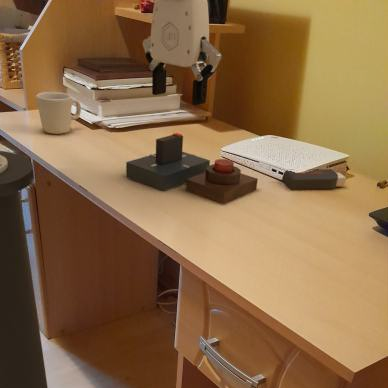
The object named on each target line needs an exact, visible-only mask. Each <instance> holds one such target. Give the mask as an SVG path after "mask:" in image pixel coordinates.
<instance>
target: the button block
mask: <svg viewBox="0 0 388 388" xmlns="http://www.w3.org/2000/svg"><path fill="white" fill-rule="evenodd" d="M214 164H215V163H214ZM214 164H213V163H212V164H210V166H207V168H206V172H205V173H202V174H200V175H197V176H194V177H191V178H188V179H186V183H185V191H186V192H189V193H191V194H194V195H197V196H199V197H203V198H205V199H208V200H211V201H214V202H216V203H219V204H222V205H224V204H227V203H229V202H231V201H234V200H236V199H238V198H241V197H243V196H245V195H247V194H249V193H252V192H254V191H257V188H258V181H259V179H258V178H257V177H255V176H250V175H248V174H245V173H242V170H241V169H240V168H239V167H238V166H235V165H233V172H232V173H218V172H215V171H214Z"/></svg>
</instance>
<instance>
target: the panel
mask: <svg viewBox="0 0 388 388" xmlns="http://www.w3.org/2000/svg"><path fill="white" fill-rule="evenodd" d="M210 165H211V160H210V159H207V158H204V157H201V156H198V155H194V154H191V153H188V152H185V151H182V159H180V160H176V161H173V162H170V163H167V164H164V165H161V164H158V163H156V153H149V155H146V156H143V157H139V158H135V159H131V160H129V161H126V162H125V170H126V173H125V174H126V178H128V179H131V180H133V181H136V182H139V183H141V184H144V185H147V186H149V187H152V188H155V189H157V190H160V191H163V192H165V191H168V190H171V189H173V188H176V187H178V186H179V187H180V186H181V185H186V179H188V178H191V177H194V176H197V175H200V174H202V173H205V172H206V168H207V166H210Z"/></svg>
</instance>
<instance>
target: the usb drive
mask: <svg viewBox="0 0 388 388" xmlns="http://www.w3.org/2000/svg"><path fill="white" fill-rule="evenodd" d="M288 170H289V169H287V170H285V171H284V172H283V174H282V178H281V181H282V182H283V183H284V184H285V186H286V187H287V188H288V189H289V190H290V191H311V190H312V191H319V190H334V189H336V187H345V184H346V181H347V177H346V176H345V175H343V174H342V173H341V172H339V171H337V172H336V171H334V169H332V168H326V169H325V168H324V169H312V170H313V171H309V172H305V173H295V172H292V171H288Z"/></svg>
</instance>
